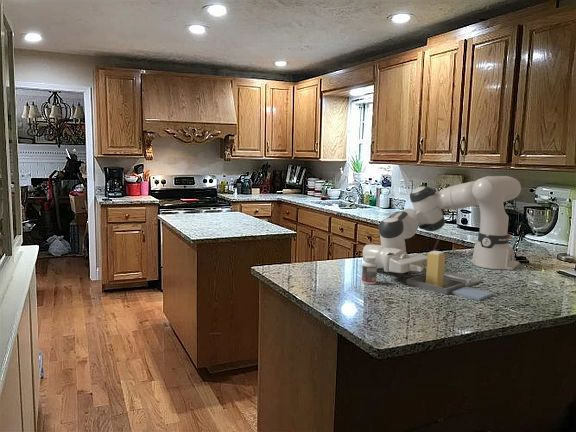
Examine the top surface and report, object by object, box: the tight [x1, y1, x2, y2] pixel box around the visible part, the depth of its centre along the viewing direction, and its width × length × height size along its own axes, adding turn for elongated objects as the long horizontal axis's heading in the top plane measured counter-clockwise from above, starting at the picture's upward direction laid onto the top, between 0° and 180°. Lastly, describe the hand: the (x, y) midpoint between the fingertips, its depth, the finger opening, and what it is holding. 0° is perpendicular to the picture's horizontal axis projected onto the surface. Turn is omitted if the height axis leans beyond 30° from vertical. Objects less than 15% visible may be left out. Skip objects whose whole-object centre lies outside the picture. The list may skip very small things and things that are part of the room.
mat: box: [450, 286, 494, 302], centre depth 164 cm, size 10×10×1 cm
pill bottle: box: [361, 256, 378, 285], centre depth 175 cm, size 5×5×10 cm
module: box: [425, 250, 446, 287], centre depth 173 cm, size 4×4×13 cm
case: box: [406, 270, 483, 295], centre depth 177 cm, size 26×16×2 cm, turn 132°
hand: (429, 267), depth 174 cm, fingers open, 8 cm apart
